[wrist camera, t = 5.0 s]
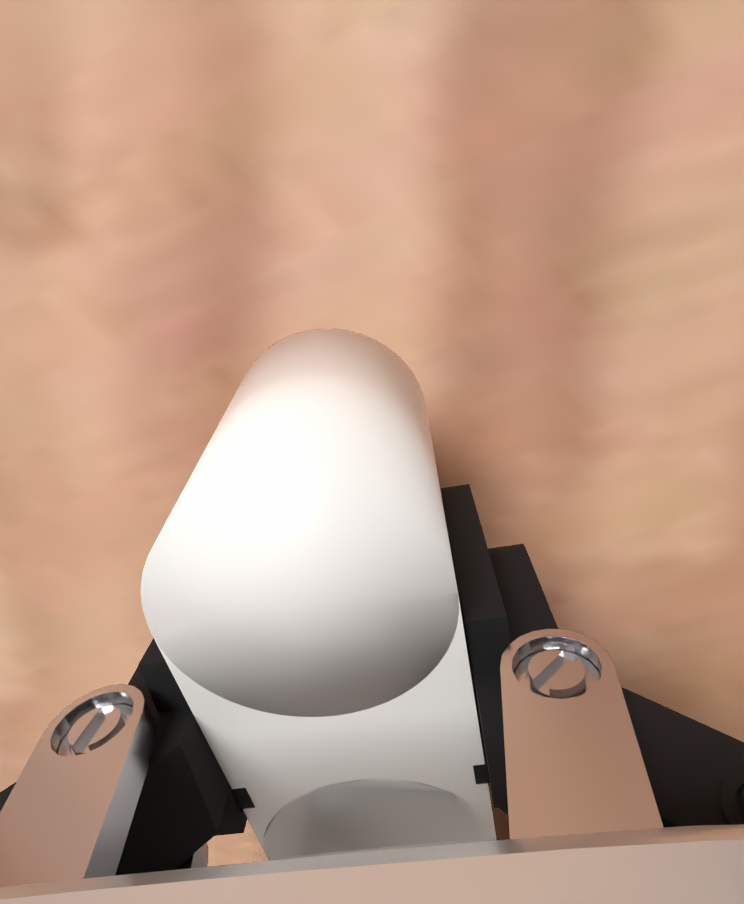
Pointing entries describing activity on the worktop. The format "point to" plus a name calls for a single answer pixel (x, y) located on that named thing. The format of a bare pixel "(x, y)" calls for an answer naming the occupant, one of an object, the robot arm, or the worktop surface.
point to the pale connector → (324, 608)
